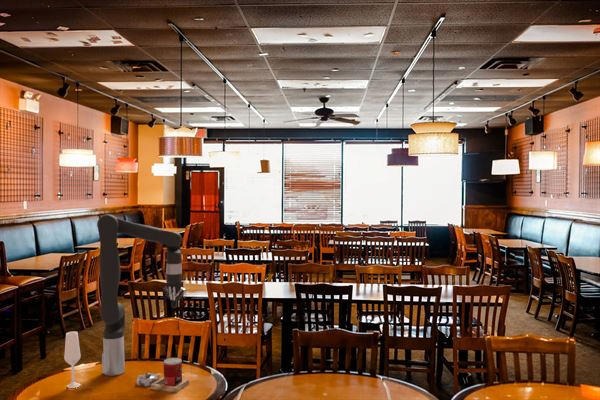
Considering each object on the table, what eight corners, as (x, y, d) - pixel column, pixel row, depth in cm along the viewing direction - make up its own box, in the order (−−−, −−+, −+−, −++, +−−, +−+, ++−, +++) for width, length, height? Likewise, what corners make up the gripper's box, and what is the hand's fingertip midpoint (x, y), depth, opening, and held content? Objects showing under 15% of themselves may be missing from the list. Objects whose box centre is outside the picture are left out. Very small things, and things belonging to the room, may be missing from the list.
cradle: (150, 388, 235) (150, 384, 235) (164, 380, 245) (164, 376, 245) (176, 392, 231) (176, 388, 231) (189, 383, 240) (189, 379, 240)
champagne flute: (84, 384, 241) (83, 331, 240) (74, 390, 235) (72, 335, 234) (72, 382, 243) (71, 330, 242) (61, 388, 237) (60, 334, 236)
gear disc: (132, 384, 240) (132, 376, 240) (145, 377, 249) (145, 368, 249) (151, 387, 236) (150, 378, 236) (163, 379, 245) (163, 371, 245)
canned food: (178, 388, 235) (177, 363, 234) (161, 387, 236) (160, 363, 236) (184, 382, 242) (184, 358, 242) (168, 381, 244) (167, 357, 243)
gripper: (158, 272, 262) (158, 308, 263) (181, 274, 258) (181, 310, 258) (166, 270, 269) (166, 304, 270) (189, 272, 265) (189, 306, 266)
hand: (174, 307), depth 264 cm, fingers closed
